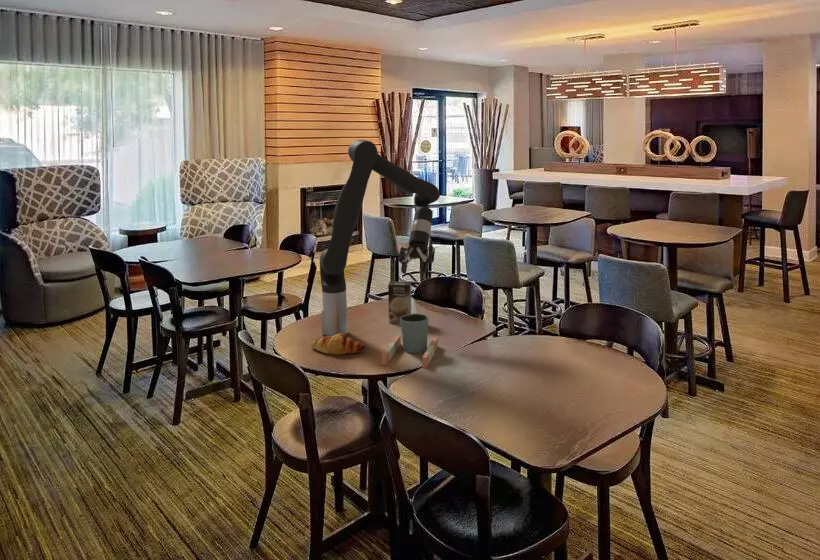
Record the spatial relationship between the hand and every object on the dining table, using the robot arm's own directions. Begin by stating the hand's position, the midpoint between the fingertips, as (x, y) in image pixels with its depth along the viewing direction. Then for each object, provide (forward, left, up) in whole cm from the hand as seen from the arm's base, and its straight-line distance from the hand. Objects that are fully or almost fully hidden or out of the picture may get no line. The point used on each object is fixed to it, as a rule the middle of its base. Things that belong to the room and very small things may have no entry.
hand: (413, 272), depth 252 cm
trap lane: (+4, -23, -24) cm, 34 cm away
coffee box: (-9, +17, -25) cm, 31 cm away
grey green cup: (+4, -17, -25) cm, 30 cm away
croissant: (-24, -22, -25) cm, 41 cm away
